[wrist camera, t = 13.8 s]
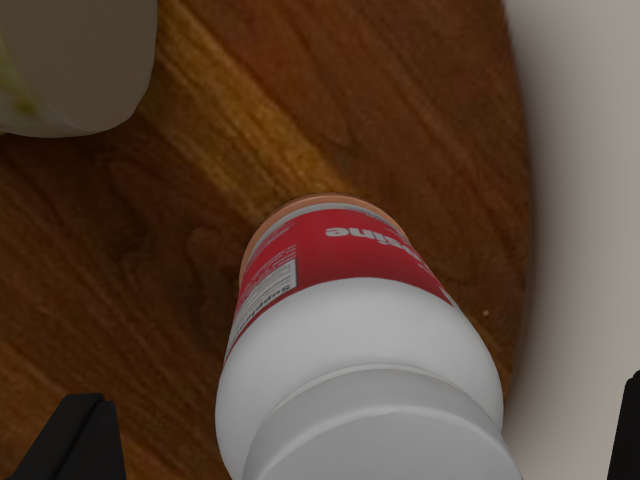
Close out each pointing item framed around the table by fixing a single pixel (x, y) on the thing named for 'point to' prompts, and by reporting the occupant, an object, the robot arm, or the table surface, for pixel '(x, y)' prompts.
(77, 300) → the table surface
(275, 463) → the pill bottle
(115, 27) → the mug
